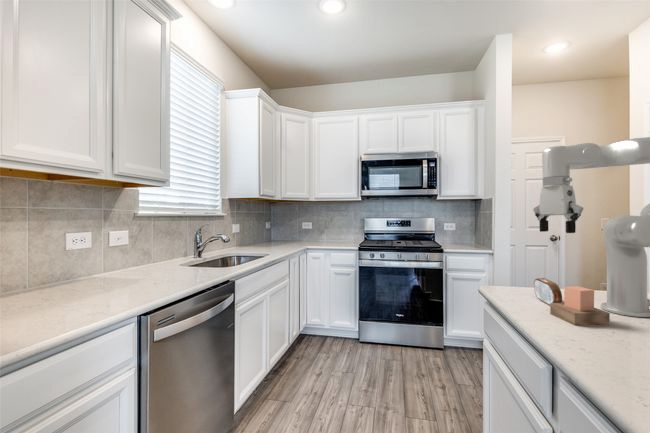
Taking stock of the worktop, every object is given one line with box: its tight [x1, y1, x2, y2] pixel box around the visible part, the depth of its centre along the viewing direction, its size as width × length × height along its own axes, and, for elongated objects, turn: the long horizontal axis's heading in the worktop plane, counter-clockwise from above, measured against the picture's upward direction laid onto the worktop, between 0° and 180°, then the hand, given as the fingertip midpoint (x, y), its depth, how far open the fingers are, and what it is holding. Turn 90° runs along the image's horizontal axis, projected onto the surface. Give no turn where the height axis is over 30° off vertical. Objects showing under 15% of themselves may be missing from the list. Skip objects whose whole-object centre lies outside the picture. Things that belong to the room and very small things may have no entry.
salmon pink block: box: [563, 285, 595, 311], centre depth 94 cm, size 5×5×6 cm
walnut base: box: [549, 302, 611, 327], centre depth 94 cm, size 10×10×4 cm
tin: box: [533, 277, 563, 307], centre depth 111 cm, size 15×3×8 cm, turn 168°
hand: (556, 232), depth 106 cm, fingers open, 9 cm apart
